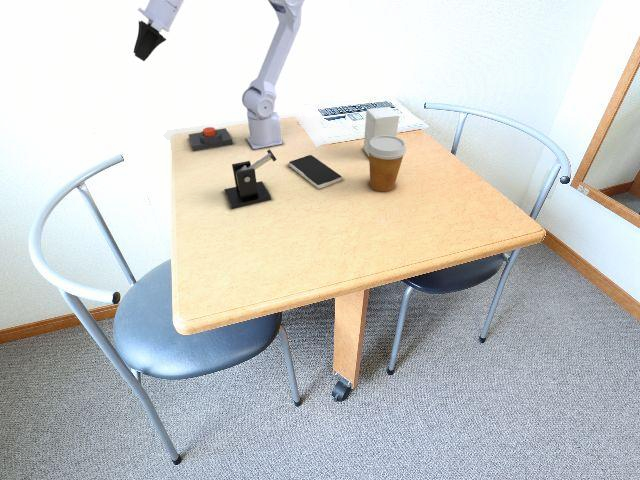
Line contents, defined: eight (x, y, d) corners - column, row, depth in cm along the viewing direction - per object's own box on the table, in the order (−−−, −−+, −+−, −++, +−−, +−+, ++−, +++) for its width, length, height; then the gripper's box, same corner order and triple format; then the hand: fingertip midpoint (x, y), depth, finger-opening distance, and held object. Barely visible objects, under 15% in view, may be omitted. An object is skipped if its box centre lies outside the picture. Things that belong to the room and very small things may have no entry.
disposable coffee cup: (403, 179, 99) (410, 137, 91) (396, 198, 92) (403, 154, 85) (368, 173, 102) (372, 132, 94) (360, 191, 95) (363, 148, 87)
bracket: (262, 184, 97) (258, 155, 92) (271, 199, 92) (268, 170, 86) (224, 192, 95) (218, 163, 89) (231, 209, 89) (225, 179, 84)
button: (214, 131, 115) (213, 126, 114) (216, 136, 113) (215, 130, 112) (203, 133, 114) (201, 128, 113) (205, 138, 112) (203, 132, 110)
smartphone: (318, 185, 95) (287, 162, 104) (318, 189, 96) (287, 165, 105) (342, 176, 98) (311, 154, 107) (342, 180, 99) (311, 158, 108)
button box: (226, 132, 122) (224, 122, 119) (233, 145, 115) (231, 134, 113) (189, 139, 118) (186, 128, 116) (194, 152, 111) (191, 141, 109)
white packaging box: (394, 157, 108) (400, 115, 100) (370, 160, 107) (374, 118, 99) (385, 146, 114) (390, 106, 106) (362, 149, 113) (365, 108, 104)
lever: (272, 154, 91) (268, 146, 90) (278, 162, 88) (273, 154, 86) (239, 175, 91) (234, 169, 90) (244, 184, 88) (238, 177, 87)
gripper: (146, -10, 86) (120, 43, 88) (150, -14, 75) (120, 47, 77) (175, 12, 90) (149, 61, 93) (183, 12, 79) (153, 68, 82)
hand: (138, 56), depth 85 cm, fingers open, 7 cm apart
